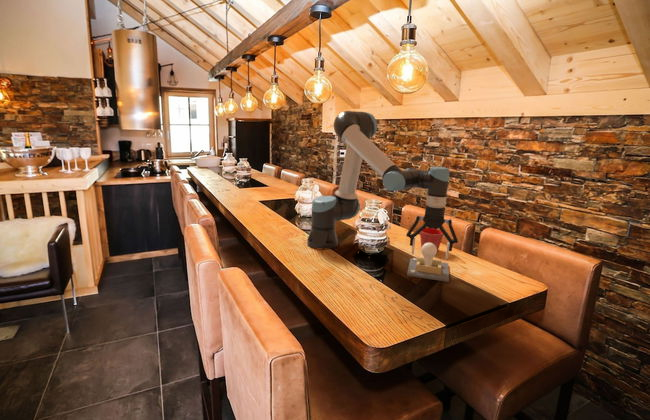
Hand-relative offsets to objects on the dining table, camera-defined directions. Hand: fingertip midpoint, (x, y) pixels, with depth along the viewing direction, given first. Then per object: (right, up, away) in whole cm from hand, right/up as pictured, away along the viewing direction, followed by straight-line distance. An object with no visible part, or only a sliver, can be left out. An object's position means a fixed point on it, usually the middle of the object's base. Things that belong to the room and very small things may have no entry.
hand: (429, 255), depth 148 cm
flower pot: (+8, -1, +27) cm, 28 cm away
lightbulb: (0, -6, +1) cm, 6 cm away
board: (0, -6, +1) cm, 6 cm away
